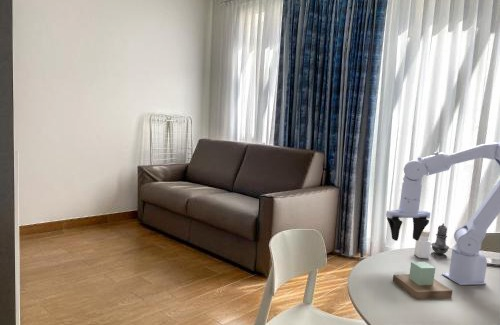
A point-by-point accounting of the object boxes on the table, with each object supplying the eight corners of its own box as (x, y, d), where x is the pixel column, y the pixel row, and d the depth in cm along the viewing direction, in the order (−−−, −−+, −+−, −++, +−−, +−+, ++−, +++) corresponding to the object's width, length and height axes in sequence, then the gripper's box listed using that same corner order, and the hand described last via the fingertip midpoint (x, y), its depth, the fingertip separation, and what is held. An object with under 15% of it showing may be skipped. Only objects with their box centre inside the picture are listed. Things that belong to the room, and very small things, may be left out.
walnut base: (425, 280, 116) (425, 273, 116) (451, 297, 106) (452, 290, 106) (392, 281, 114) (393, 274, 114) (416, 299, 103) (417, 291, 103)
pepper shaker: (429, 259, 135) (433, 232, 134) (418, 258, 135) (421, 232, 134) (424, 255, 139) (427, 229, 138) (413, 254, 139) (416, 228, 138)
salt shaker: (450, 259, 136) (454, 226, 135) (432, 256, 138) (436, 224, 136) (445, 253, 142) (449, 222, 141) (428, 251, 143) (432, 220, 142)
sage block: (422, 278, 113) (424, 261, 112) (433, 284, 108) (435, 267, 108) (409, 278, 112) (411, 261, 111) (419, 285, 107) (421, 268, 107)
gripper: (422, 195, 128) (417, 235, 130) (382, 194, 125) (378, 235, 126) (436, 200, 121) (431, 242, 123) (395, 200, 118) (390, 242, 119)
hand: (405, 239), depth 124 cm, fingers open, 7 cm apart
